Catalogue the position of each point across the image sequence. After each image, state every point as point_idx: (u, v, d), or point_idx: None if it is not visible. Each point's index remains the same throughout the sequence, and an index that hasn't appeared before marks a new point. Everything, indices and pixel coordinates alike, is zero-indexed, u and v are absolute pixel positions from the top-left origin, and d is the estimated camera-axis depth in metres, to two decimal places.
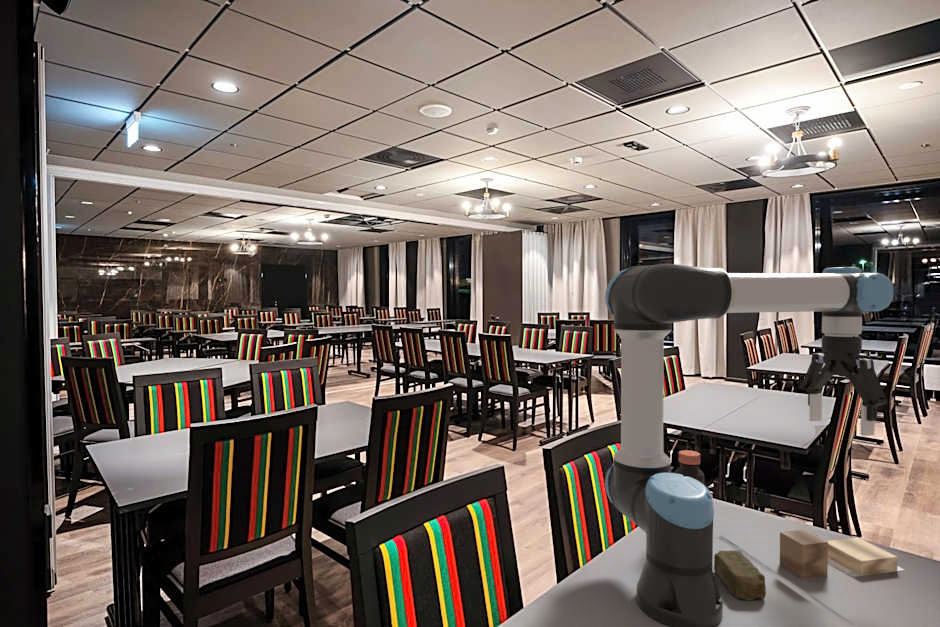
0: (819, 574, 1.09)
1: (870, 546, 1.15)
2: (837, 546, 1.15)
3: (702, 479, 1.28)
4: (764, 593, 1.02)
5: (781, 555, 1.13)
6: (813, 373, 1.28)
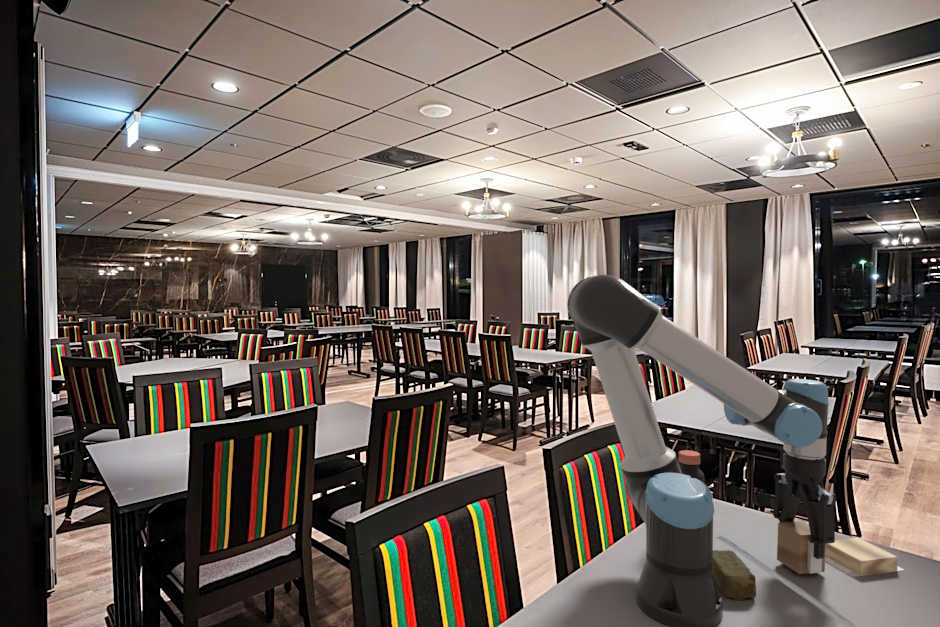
0: None
1: (870, 546, 1.15)
2: (837, 546, 1.15)
3: (702, 479, 1.28)
4: (754, 593, 1.02)
5: (779, 546, 1.13)
6: (781, 497, 1.16)
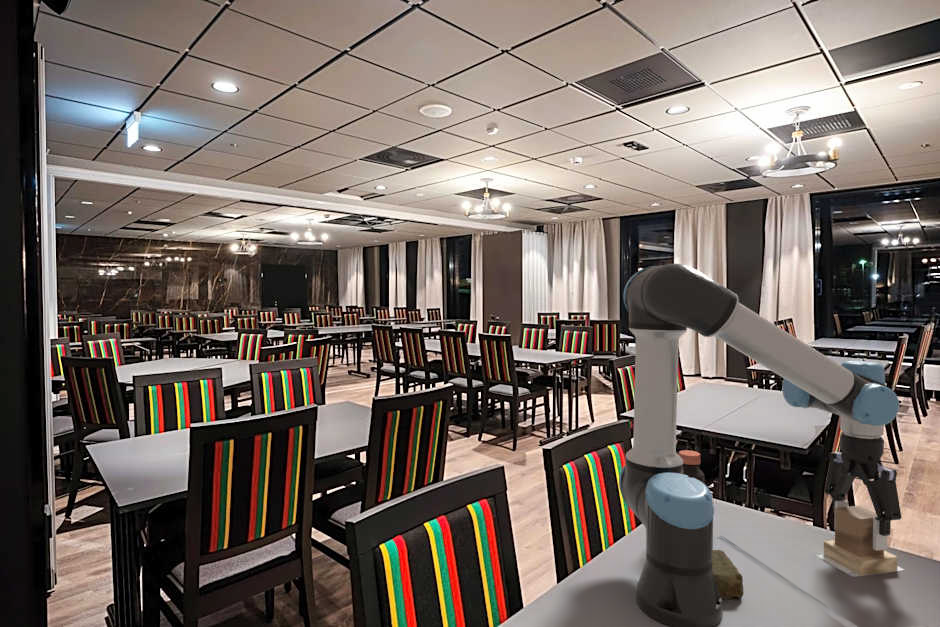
0: None
1: None
2: (837, 546, 1.15)
3: (702, 479, 1.28)
4: (741, 592, 1.02)
5: (837, 530, 1.16)
6: (834, 475, 1.19)
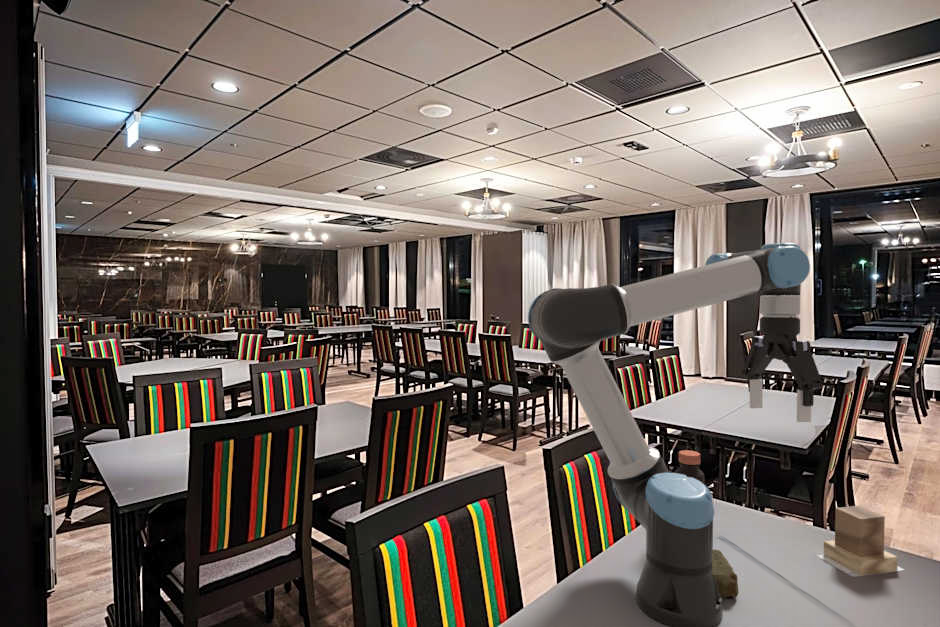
0: (876, 548, 1.11)
1: None
2: (837, 546, 1.15)
3: (702, 479, 1.28)
4: (736, 592, 1.02)
5: (837, 530, 1.16)
6: (753, 357, 1.21)
